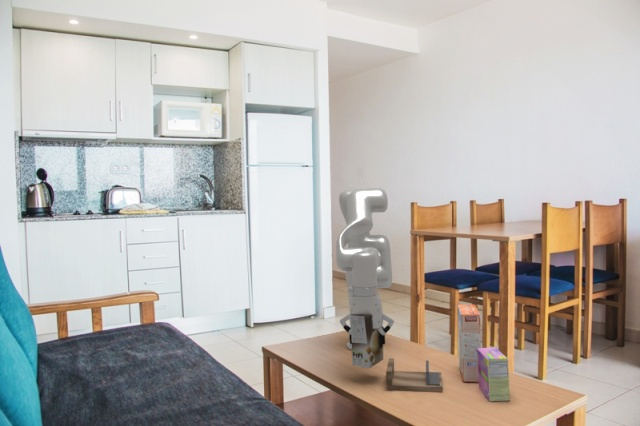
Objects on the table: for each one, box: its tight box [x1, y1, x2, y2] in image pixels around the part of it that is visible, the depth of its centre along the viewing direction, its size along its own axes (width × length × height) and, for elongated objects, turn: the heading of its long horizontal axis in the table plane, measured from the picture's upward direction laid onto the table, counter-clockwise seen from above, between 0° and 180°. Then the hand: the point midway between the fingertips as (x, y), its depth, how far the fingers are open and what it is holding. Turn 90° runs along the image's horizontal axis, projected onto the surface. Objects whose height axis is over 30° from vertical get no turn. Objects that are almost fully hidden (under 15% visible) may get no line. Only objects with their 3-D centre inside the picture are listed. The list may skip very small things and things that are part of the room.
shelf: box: [385, 358, 444, 393], centre depth 153 cm, size 12×16×6 cm
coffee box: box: [351, 314, 384, 369], centre depth 157 cm, size 9×6×16 cm
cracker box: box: [457, 304, 482, 383], centre depth 158 cm, size 14×6×21 cm, turn 168°
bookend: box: [425, 360, 440, 386], centre depth 152 cm, size 10×4×4 cm, turn 168°
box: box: [477, 347, 510, 402], centre depth 142 cm, size 10×6×12 cm, turn 178°
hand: (367, 346), depth 157 cm, fingers closed on coffee box, 8 cm apart
